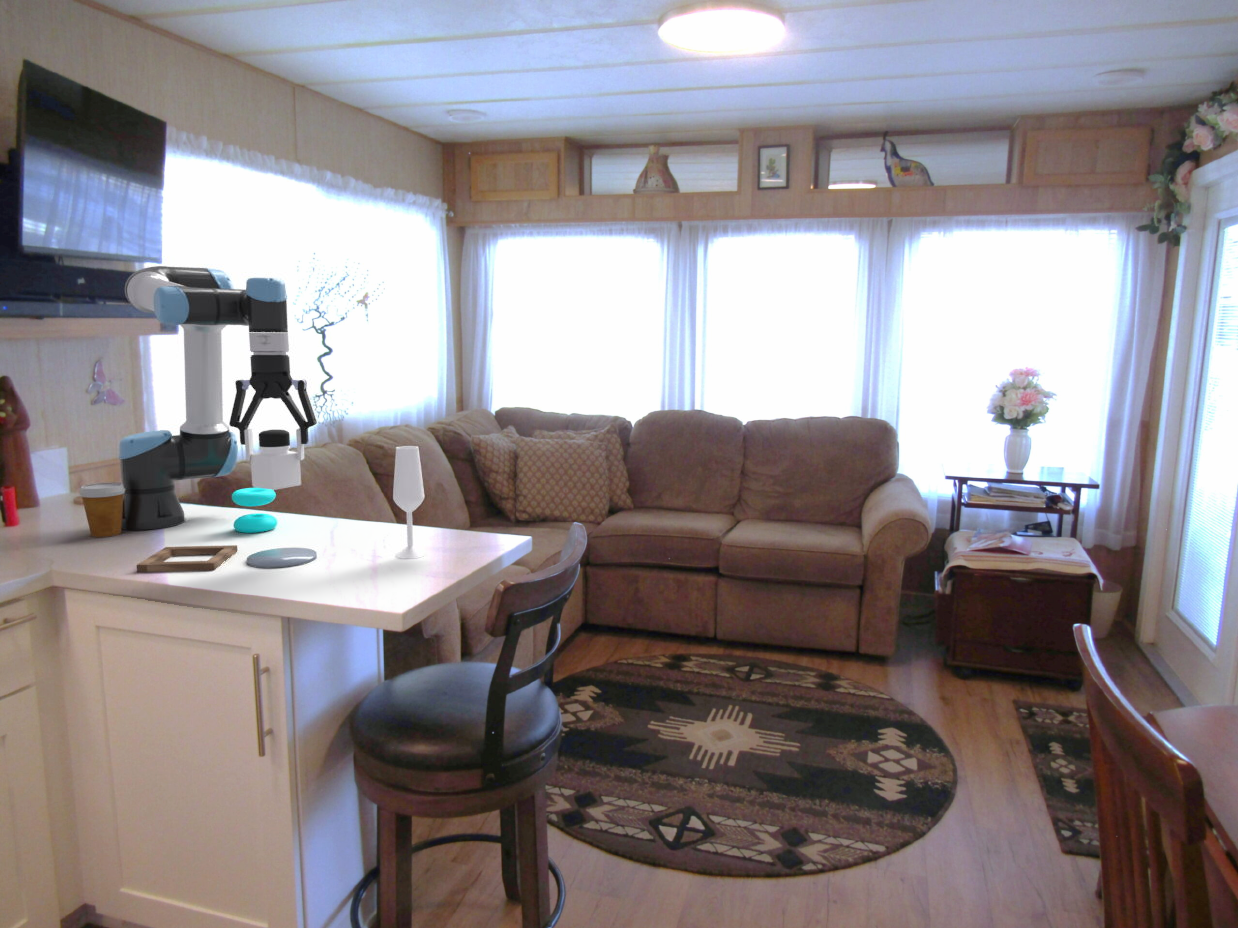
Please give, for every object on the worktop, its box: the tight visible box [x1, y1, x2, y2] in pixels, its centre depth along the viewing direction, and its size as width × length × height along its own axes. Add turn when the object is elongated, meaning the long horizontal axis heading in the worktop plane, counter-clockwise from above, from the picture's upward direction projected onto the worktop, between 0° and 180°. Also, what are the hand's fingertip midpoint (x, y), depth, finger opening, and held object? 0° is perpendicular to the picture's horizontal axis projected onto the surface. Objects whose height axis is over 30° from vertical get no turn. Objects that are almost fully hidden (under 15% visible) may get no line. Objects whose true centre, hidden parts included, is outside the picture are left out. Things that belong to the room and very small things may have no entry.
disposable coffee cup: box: [78, 482, 126, 538], centre depth 203 cm, size 10×10×12 cm
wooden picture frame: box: [135, 544, 238, 573], centre depth 180 cm, size 15×15×2 cm
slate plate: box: [246, 547, 318, 568], centre depth 182 cm, size 14×14×1 cm
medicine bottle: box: [250, 429, 302, 491], centre depth 179 cm, size 7×7×12 cm
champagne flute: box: [392, 445, 427, 560], centre depth 185 cm, size 7×7×24 cm
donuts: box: [231, 487, 278, 534], centre depth 209 cm, size 10×10×10 cm
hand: (275, 459), depth 179 cm, fingers closed on medicine bottle, 10 cm apart
